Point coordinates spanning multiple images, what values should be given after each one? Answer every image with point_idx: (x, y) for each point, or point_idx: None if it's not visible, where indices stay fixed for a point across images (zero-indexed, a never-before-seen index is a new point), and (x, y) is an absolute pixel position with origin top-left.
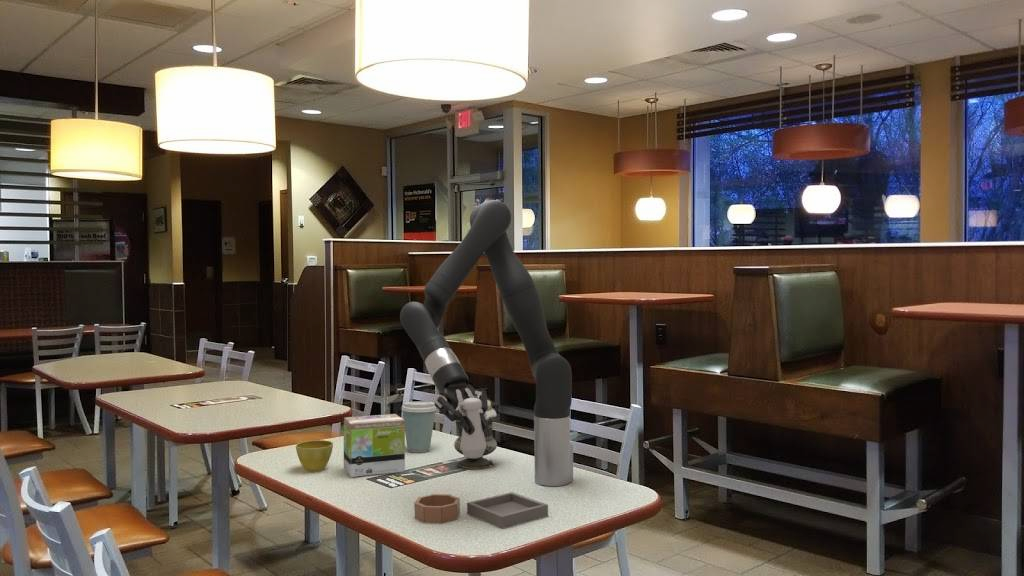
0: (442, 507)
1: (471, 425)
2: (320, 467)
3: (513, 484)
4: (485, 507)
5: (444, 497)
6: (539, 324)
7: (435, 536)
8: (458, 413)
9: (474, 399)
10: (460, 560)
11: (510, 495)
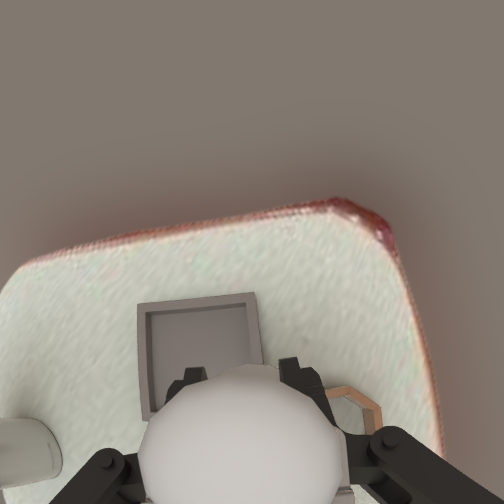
0: (348, 386)
1: (293, 372)
2: None
3: None
4: None
5: None
6: None
7: (378, 324)
8: (372, 438)
9: (232, 432)
10: (374, 214)
11: (153, 412)
